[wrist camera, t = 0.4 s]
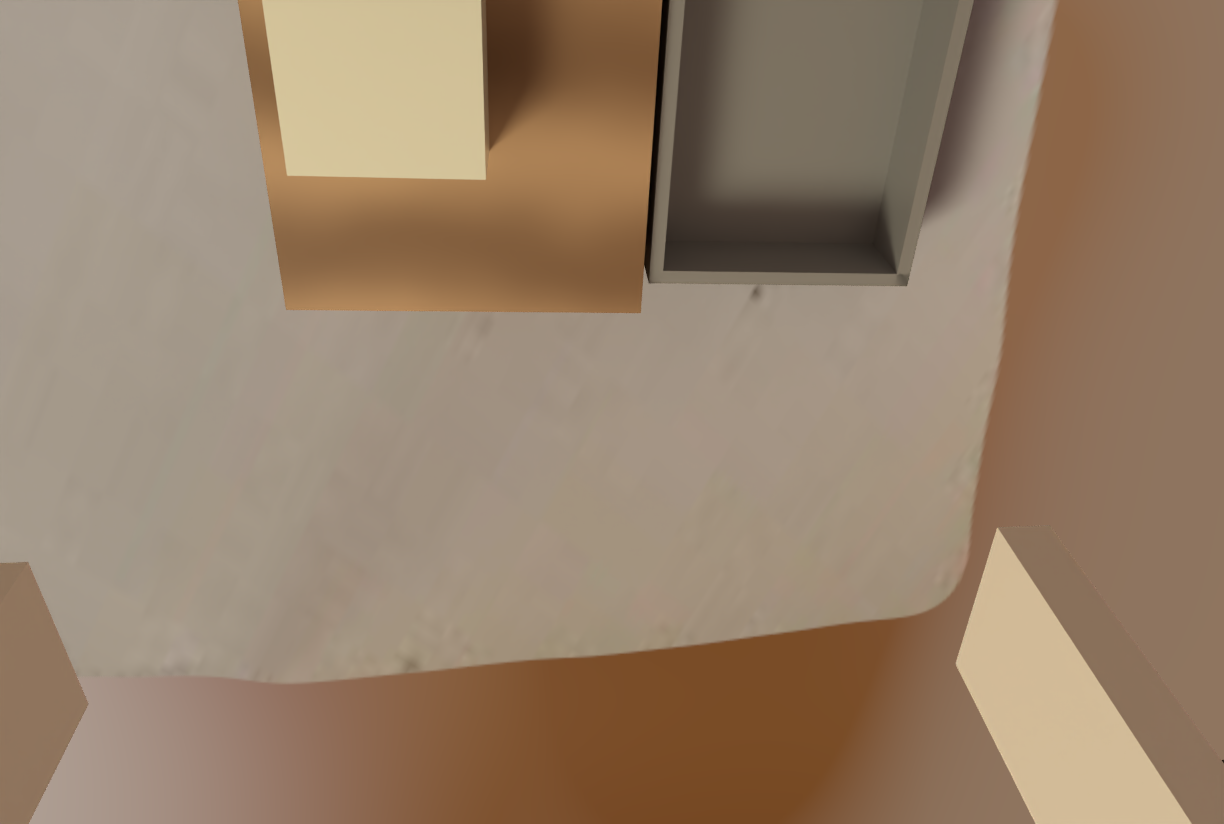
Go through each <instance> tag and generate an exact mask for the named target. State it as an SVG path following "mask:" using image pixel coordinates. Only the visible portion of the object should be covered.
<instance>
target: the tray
mask: <svg viewBox="0 0 1224 824" xmlns="http://www.w3.org/2000/svg"><path fill="white" fill-rule="evenodd" d="M973 2H974V0H662V11H661V26H660V40H659V54H658V69H657V83H656V98H655V112H654V127H653V141H652V156H651V170H650V185H649V199H648V214H647V228H646V243H645V257H644V266H645V270H646V274H647V278H648V281H649V283H682V284H766V285H851V286H907V284H908V280H909V275H910V271H911V267H912V263H913V258H914V254H915V250H916V246H917V241H918V237H919V233H920V228H921V224H922V220H923V216H924V211H925V207H926V203H927V199H928V194H929V190H930V186H931V182H932V177H933V173H934V169H935V165H936V160H937V156H938V152H939V147H940V143H941V139H942V135H943V130H944V126H945V122H946V118H947V113H948V109H949V105H950V101H951V96H952V92H953V88H954V83H955V79H956V75H957V71H958V66H959V62H960V58H961V54H962V49H963V45H964V41H965V37H966V32H967V28H968V24H969V19H970V15H971V11H972V7H973Z"/></svg>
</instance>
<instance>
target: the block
mask: <svg viewBox="0 0 1224 824" xmlns="http://www.w3.org/2000/svg"><path fill="white" fill-rule="evenodd" d="M262 4H263V11H264V18H265V25H266V32H267V39H268V46H269V53H270V60H271V67H272V74H273V81H274V88H275V95H276V102H277V109H278V116H279V123H280V130H281V137H282V144H283V151H284V158H285V165H286V172H287V176H326V177H373V178H420V179H467V180H486V175H487V167H488V159H489V151H490V149H489V108H488V67H487V26H486V0H262Z"/></svg>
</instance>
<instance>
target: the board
mask: <svg viewBox="0 0 1224 824" xmlns="http://www.w3.org/2000/svg"><path fill="white" fill-rule="evenodd" d="M238 4H239V10H240V17H241V23H242V30H243V36H244V43H245V49H246V55H247V62H248V68H249V75H250V81H251V87H252V94H253V100H254V107H255V113H256V119H257V126H258V132H259V139H260V145H261V152H262V158H263V164H264V171H265V177H266V184H267V190H268V196H269V203H270V209H271V216H272V222H273V229H274V235H275V241H276V248H277V254H278V261H279V267H280V273H281V280H282V286H283V293H284V299H285V306H286V310H369V311H479V312H589V313H641V300H642V286H643V271H644V257H645V243H646V228H647V214H648V199H649V185H650V170H651V156H652V141H653V127H654V112H655V98H656V83H657V69H658V54H659V40H660V26H661V11H662V0H486V26H487V67H488V108H489V149H490V151H489V159H488V167H487V175H486V180H467V179H420V178H373V177H326V176H287V172H286V165H285V158H284V151H283V144H282V137H281V130H280V123H279V116H278V109H277V102H276V95H275V88H274V81H273V74H272V67H271V60H270V53H269V46H268V39H267V32H266V25H265V18H264V11H263V4H262V0H238Z"/></svg>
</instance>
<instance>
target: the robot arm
mask: <svg viewBox="0 0 1224 824" xmlns="http://www.w3.org/2000/svg"><path fill="white" fill-rule="evenodd" d="M956 665H957V668H958V670H959V671H960V673H961V676H962V678H963V680H964V681H965V683H966V685H967V687H968V689H969V692H970V694H971V696H972V698H973V700H974V702H975V704H976V705H977V708H978V710H979V711H980V714H981V716H982V718H983V720H984V721H985V723H986V725H987V727H988V730H989V731H990V733H991V735H992V737H993V740H994V742H995V744H996V746H997V748H998V750H999V751H1000V754H1001V755H1002V758H1003V760H1004V761H1005V764H1006V766H1007V768H1008V769H1009V771H1010V773H1011V775H1012V777H1013V779H1014V781H1015V783H1016V785H1017V787H1018V789H1019V791H1020V793H1021V795H1022V797H1023V799H1024V801H1025V803H1026V805H1027V807H1028V809H1029V811H1030V813H1031V815H1032V817H1033V819H1034V821H1035V823H1036V824H1224V760H1221V759H1220V757H1219V756H1218V755H1217V753H1216V752H1215V751H1214V749H1213V748H1212V746H1211V745H1210V744H1209V742H1208V741H1207V740H1206V738H1205V737H1204V735H1203V734H1202V733H1201V731H1200V730H1199V729H1198V727H1197V726H1196V725H1195V723H1194V722H1193V720H1192V719H1191V718H1190V717H1189V715H1188V714H1187V712H1186V711H1185V710H1184V708H1183V707H1182V706H1181V704H1180V703H1179V701H1178V700H1177V699H1176V697H1175V696H1174V694H1173V693H1172V692H1171V690H1170V689H1169V688H1168V686H1167V685H1166V684H1165V682H1164V681H1163V679H1162V678H1161V677H1160V675H1159V674H1158V673H1157V671H1156V670H1155V669H1154V667H1153V666H1152V664H1151V663H1150V662H1149V660H1148V659H1147V658H1146V656H1145V655H1144V653H1143V652H1142V651H1141V649H1140V648H1139V647H1138V645H1137V644H1136V643H1135V641H1134V640H1133V638H1132V637H1131V636H1130V634H1129V633H1128V632H1127V630H1126V629H1125V628H1124V626H1123V625H1122V623H1121V622H1120V621H1119V619H1118V618H1117V617H1116V615H1115V614H1114V612H1113V611H1112V610H1111V608H1110V607H1109V606H1108V604H1107V603H1106V602H1105V600H1104V599H1103V597H1102V596H1101V595H1100V593H1099V592H1098V591H1097V589H1096V588H1095V587H1094V585H1093V584H1092V583H1091V581H1090V580H1089V578H1088V577H1087V576H1086V574H1085V573H1084V572H1083V570H1082V569H1081V567H1080V566H1079V565H1078V563H1077V562H1076V561H1075V559H1074V558H1073V556H1072V555H1071V554H1070V552H1069V551H1068V550H1067V549H1066V547H1065V546H1064V544H1063V543H1062V541H1061V540H1060V539H1059V537H1058V536H1057V535H1056V533H1055V532H1054V531H1053V529H1052V528H1051V526H1022V527H998V528H997V531H996V534H995V537H994V541H993V543H992V547H991V550H990V553H989V557H988V560H987V563H986V566H985V570H984V573H983V576H982V579H981V583H980V586H979V589H978V592H977V596H976V599H975V602H974V606H973V609H972V612H971V615H970V619H969V622H968V625H967V628H966V632H965V635H964V638H963V642H962V645H961V648H960V651H959V655H958V658H957V661H956ZM87 706H88V702H87V700H86V697H85V695H84V692H83V690H82V687H81V685H80V683H79V680H78V678H77V676H76V673H75V671H74V669H73V666H72V664H71V662H70V659H69V657H68V655H67V652H66V650H65V648H64V645H63V643H62V641H61V638H60V636H59V634H58V631H57V629H56V627H55V624H54V622H53V619H52V617H51V615H50V612H49V610H48V608H47V605H46V603H45V601H44V598H43V596H42V594H41V591H40V589H39V587H38V584H37V582H36V580H35V577H34V575H33V573H32V570H31V568H30V566H29V563H28V562H18V563H0V824H29V822H30V820H31V818H32V816H33V814H34V812H35V809H36V808H37V806H38V804H39V802H40V800H41V798H42V796H43V794H44V792H45V790H46V788H47V786H48V784H49V782H50V780H51V778H52V776H53V774H54V772H55V770H56V768H57V766H58V764H59V762H60V760H61V758H62V756H63V754H64V752H65V750H66V748H67V746H68V744H69V742H70V740H71V738H72V736H73V734H74V732H75V730H76V728H77V726H78V724H79V722H80V720H81V718H82V716H83V714H84V712H85V710H86V708H87Z"/></svg>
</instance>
